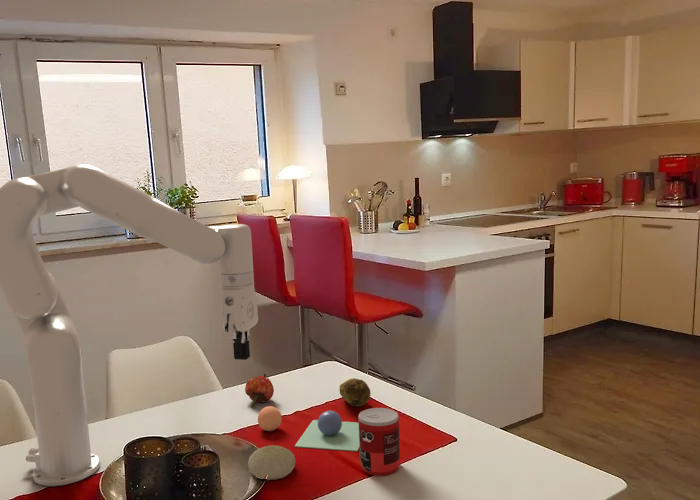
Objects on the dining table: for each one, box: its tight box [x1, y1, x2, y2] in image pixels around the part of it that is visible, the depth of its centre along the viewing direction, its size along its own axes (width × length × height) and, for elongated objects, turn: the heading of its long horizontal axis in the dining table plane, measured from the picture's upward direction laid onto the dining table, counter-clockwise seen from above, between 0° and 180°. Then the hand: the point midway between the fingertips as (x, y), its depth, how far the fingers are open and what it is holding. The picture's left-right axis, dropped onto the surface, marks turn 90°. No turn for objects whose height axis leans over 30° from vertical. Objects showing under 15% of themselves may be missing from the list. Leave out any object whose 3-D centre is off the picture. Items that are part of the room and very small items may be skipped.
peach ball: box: [257, 405, 283, 432], centre depth 146 cm, size 6×6×6 cm
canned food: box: [358, 407, 401, 477], centre depth 126 cm, size 8×8×11 cm
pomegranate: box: [244, 373, 275, 409], centre depth 163 cm, size 7×7×10 cm
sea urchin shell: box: [247, 444, 296, 481], centre depth 126 cm, size 9×8×8 cm
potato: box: [339, 378, 371, 407], centre depth 158 cm, size 8×13×8 cm, turn 175°
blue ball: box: [317, 410, 343, 436], centre depth 142 cm, size 6×6×6 cm
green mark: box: [294, 419, 360, 452], centre depth 142 cm, size 14×14×1 cm
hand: (242, 358), depth 145 cm, fingers closed
